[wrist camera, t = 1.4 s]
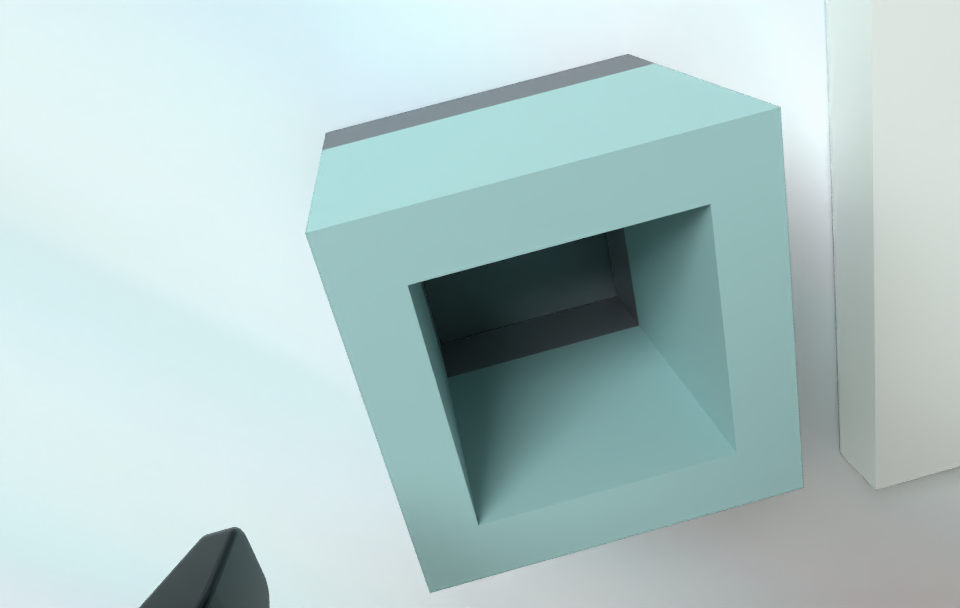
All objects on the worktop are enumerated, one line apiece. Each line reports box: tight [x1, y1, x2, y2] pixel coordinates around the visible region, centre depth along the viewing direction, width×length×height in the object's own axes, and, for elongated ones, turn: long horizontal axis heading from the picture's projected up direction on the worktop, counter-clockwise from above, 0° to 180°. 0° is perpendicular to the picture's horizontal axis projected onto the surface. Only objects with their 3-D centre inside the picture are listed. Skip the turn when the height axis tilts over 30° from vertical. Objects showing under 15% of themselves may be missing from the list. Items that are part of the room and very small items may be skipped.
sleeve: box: [305, 54, 803, 593], centre depth 13 cm, size 6×6×6 cm
